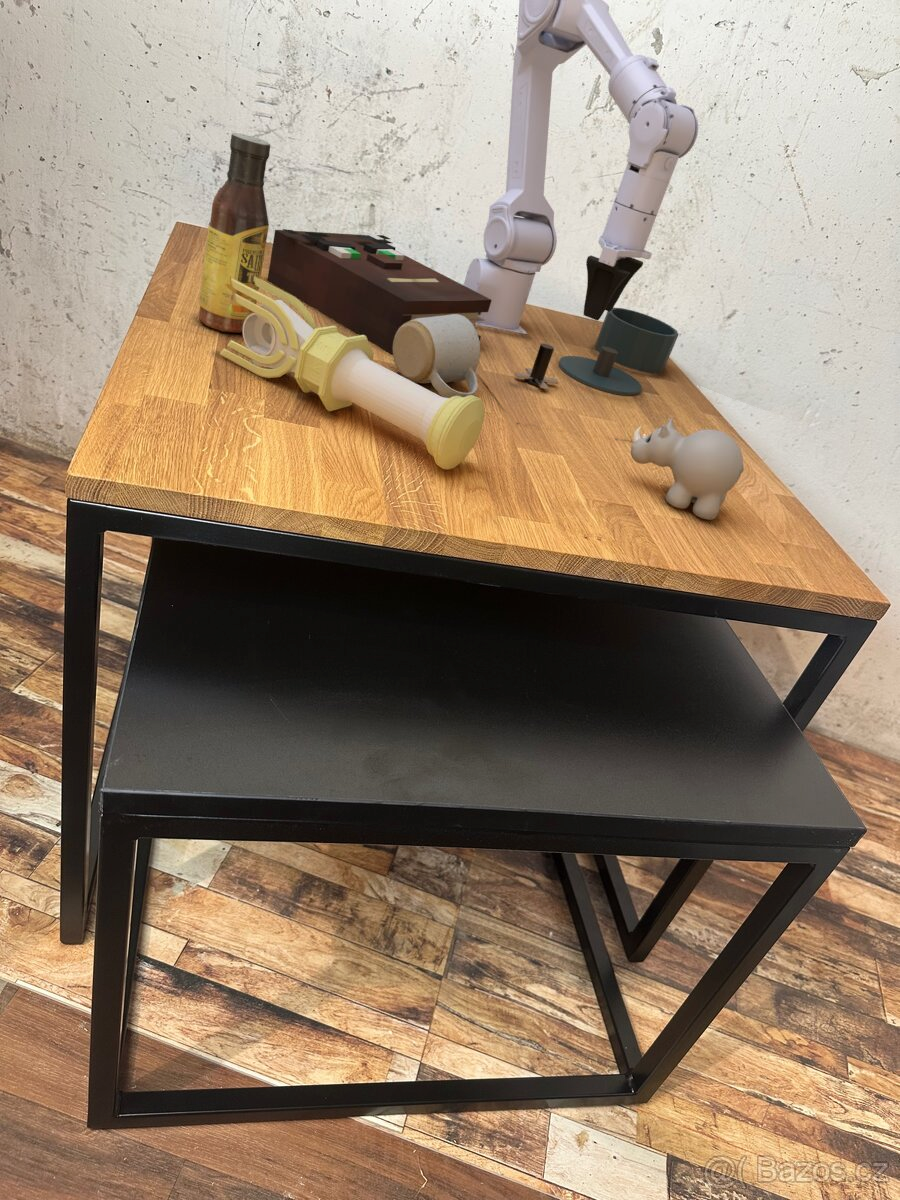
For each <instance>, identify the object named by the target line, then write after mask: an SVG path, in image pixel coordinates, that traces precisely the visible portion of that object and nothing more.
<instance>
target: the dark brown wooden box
mask: <svg viewBox="0 0 900 1200" xmlns="http://www.w3.org/2000/svg"><path fill="white" fill-rule="evenodd" d="M375 236H376V237H378V238H379V239H378V238H375V237H374V236H371V235H368V234H354V233H337V232H323V231H321V232H319V231H304V230H294V229H285V228H282V229H275V230H274V235H273V241H272V247H271V254H270V261H269V267H268V273H267V279H266V280H267V281H268V282H270V284H271V283H272V285H274V286H275V287H277V288H279V289H281V290H283V291H285V292H287V293H289V294H290V295H292V296H294V297H296V298H297V299H298V300H299V301H301V302H302V303H305V304H307V305H308V306H310V307H312V308H313V309H314V310H317V311H318V312H320V313H322V314H324V315H325V316H327V317H328V318H331V319H332V320H333V321H335V322H337V323H339V324H340V325H342V326H344V327H345V328H347V329H348V330H351V331H352V332H354V333H356V334H357V335H358V336H359V335H365V336H366V337H367V339H368V342H371V343H372V344H374V345H376V346H377V347H379V348H381V349H382V350H384V351H386V352H388V353H389V354H391V355H393V341H394V337H395V334H396V332H397V331H398V329H399V328H400V327H401V326H402V325H403V324H404V323H406V322H408V321H411V320H414V319H417V318H426V317H435V316H444V315H451V314H459V315H462V316H464V317H466V318H467V319H468V320H469V321H470V322H471V323H472V324H473V326H474V328H475V329H476V325H477V324H476V321H486V320H484V319H482V318H480V317H478V314H479V312H488V311H489V307H490V304H491V301H492V300H491V299H489V298H487V297H485V296H483V295H481V294H479V293H477V292H475V291H473V290H472V289H470V288H468V287H466V286H464V284H462V283H460V282H458V281H456V280H454V279H453V278H450V277H448V276H446V275H444V274H442V273H440V272H438V271H436V270H434V269H432V268H430V267H429V266H428V265H425V264H422V263H421V262H419V261H418V260H415V259H413V258H411V257H409V256H407V255H405V254H403V253H401V252H400V251H398V250H396V249H397V248H396V247H395V246H393V245H392V244H393V242H391V241H390V240H391V238H390V237H388V236H386V235H383V234H376V235H375ZM478 337H479V342H480V341H481V338H482V336H481V335H479V334H478Z"/></svg>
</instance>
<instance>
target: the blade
mask: <svg viewBox="0 0 900 1200" xmlns="http://www.w3.org/2000/svg"><path fill="white" fill-rule="evenodd" d="M554 350H555V347H554V346H552V345H550V344H547V343H540V345H539V348H538V351H537V353H536V357H535V360H534V363H533V366H532V368H531V367H525V369H524V370H525V372H526V373H524V372H517V371H515V372H514V373H513V374H514V376H515V377H516V378H519V379H523V381H524V382H525V383H526V384H528V385H529V386H532V387H535V388H539V389H544V390H549V386H548V383H549V384H553V385H559V381H558V380H557V379H556V378H552V377H546V374H547V371H548V368H549V365H550V362H551V358H552V356H553V354H554Z"/></svg>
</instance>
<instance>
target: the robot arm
mask: <svg viewBox="0 0 900 1200" xmlns="http://www.w3.org/2000/svg"><path fill="white" fill-rule="evenodd" d="M609 11H610V6H609V4H608V3H607V2H606V1H604V0H519V3H518V16H517V17H518V19H517V35H516V45H515V46H516V47H515V50H514V56H513V65H512V66H513V68H512V83H511V97H510V98H511V99H510V101H511V102H510V115H509V116H510V118H509V132H508V149H507V163H506V165H507V166H506V168H507V169H506V180H505V193H504V194H502V195H501V196H500V197H499V198H498V199H497V200H495V201H494V202H493V203H492V204H491V205H489V211H488V212H489V213H488V219H487V223H486V225H485V229H484V233H483V248H484V252H485V253H486V254H485V258H481V257H475V258H473V260H471V262H470V264H469V266H468V269H467V271H466V276H465V279H464V283H463V285H464V286H466V287H468V288H470V289H472V290H473V291H475V292H477V293H479V294H481V295H483V296H485V297H487V298H489V299H491V300H492V301H491V304H490V307H489V311H488V312H479V314H478V317H480V318H482V319H484V320H486V321H476V324H475V325H477V326H483V327H488V328H493V329H498V330H503V331H508V332H514V333H519V334H524V335H528V332H527V331H526V330H525V329H524V328H523V327H522V326H521V325H520V324H521V320H522V317H523V314H524V311H525V309H526V308H525V307H526V305H527V301H528V299H529V295H530V293H531V289H532V286H533V282H534V279H535V276H536V273H540V272H541V270H542V266H545V265H546V264H548V263H549V262H550V261H551V259H552V258H553V256H554V254H555V252H556V249H557V242H558V241H557V239H558V238H557V232H556V228H555V220H554V219H555V211H554V210H553V207H552V206H551V205H550V203H549V201H548V200H547V198H546V197H545V182H546V181H545V180H546V169H547V167H546V166H547V156H548V155H547V153H548V139H549V127H550V113H551V112H550V111H551V99H552V85H553V74H554V71H555V69H556V68H557V67H558V66H559V65H562V64H565V63H566V62H567V61H568V60H570V59H571V58H572V57H573V56H574V55H576V54H577V53H578V52H579V51H580V50H582V49H583V48H584V47H588V49H589V50H590V51H591V53H592V54H593V55H594V57H595V58H596V59H597V61H598V62H599V63H600V65H601V66H602V67H603V68H604V71H606V72H607V74H608V75H609V80H608V85H607V88H608V90H607V91H608V93H609V95H610V97H611V98H612V100H613V101H614V103H615V104H616V105H617V107H618V109H619V110H620V112H621V113H622V115H623V117H624V119H626V121H627V123H628V125H629V128H628V137H629V148H628V149H627V154H626V158H627V159H626V161H627V164H626V166H625V169H624V172H623V175H622V177H621V179H620V180H621V181H620V183H619V186H618V189H617V192H616V194H615V197H614V200H613V203H612V206H611V209H610V212H609V215H608V217H607V219H606V223H605V226H604V229H603V232H602V235H600V236H599V239H598V241H597V243H598V244H599V247H601V253H600V255H599V257H597V256H594V255H588V256H587V258H586V260H585V261H586V264H585V265H586V273H587V283H586V284H587V286H586V294H585V300H584V305H583V306H584V307H583V316H585V317H587V318H589V319H592V320H595V321H599V320H600V319H601V318H602V316H603V315H604V313H605V312H607V311H609V312H610V311H611V310H612V308H615V306H616V304H617V302H618V301H619V299H620V297H621V295H622V293H623V292H624V290H625V288H626V287H627V285H628V283H629V282H630V281H631V280H632V278H633V277H634V275H636V273H637V272H638V271H639V270H640V269H642V267H643V265H644V262H643V261H642V260H640V259H641V258H642V259H645V260H650V259H651V257H652V255H653V253H652V252H650V251H647V250H646V249H645V248H646V246H647V243H648V240H649V237H650V235H651V232H652V229H653V227H654V224H655V221H656V219H657V216H658V214H659V211H660V208H661V206H662V203H663V201H664V198H665V196H666V193H667V190H668V188H669V184H670V181H671V180H672V177H673V174H674V171H675V169H676V166H677V163H678V160H679V159H681V158H684V157H685V156H686V155H687V154H688V153H689V152H690V151H691V150H692V148H693V147H694V146H695V143H696V140H697V138H698V135H699V119H698V117H697V115H696V112H695V109H694V108H692V107H691V106H688V105H685V104H678V102H677V99H676V97H677V92H676V90H675V89H674V88H673V87H669V86H668V85H667V84H666V83H665V81H664V80H663V79H662V77H661V76H660V74H659V72H658V69H659V67H660V64H659V63H658V61H657V60H656V58H653V57H651V56H645V55H642V54H635V55H634V54H633V52H632V50H631V49H630V47H629V45H628V44H627V41H625V39H624V36H623V35H622V32H621V31H620V29H619V28H618V26H617V24H616V22H615V20H614V19H613V17H612V15H611V14H610V12H609Z"/></svg>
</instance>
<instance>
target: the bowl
mask: <svg viewBox="0 0 900 1200" xmlns="http://www.w3.org/2000/svg"><path fill="white" fill-rule="evenodd" d="M678 338H679V332H678V330H676V329H675V328H674V327H673V326H672V325H670V324H668V323H666V322H664V321H663V320H661V319H658V318H655V317H653V316H650V315H649V314H646V313H643V312H639V311H636V310H631V309H627V308H624V307H613V308H612V310H611V311H610V312H609V311H606V314H605V316H604V320H603V322H602V325H601V328H600V330H599V333H598V335H597V338H596V341H595V344H594V349H595V351H596V352H597V353H598V354H599V353H600V350H601V348H602V347H609V348H612V349H614V350H616V351H617V352H618V354H617V357H616V359H615V362H614V363H616V364H618V365H620V366H621V367H625V368H627V369H628V368H629V369H632V370H635V371H637V372H643V373H648V374H660V373H662V372H664V371H665V368H666V366H667V363H668V361H669V359H670V356H671V354H672V352H673V349H674V347H675V345H676V342H677V339H678Z"/></svg>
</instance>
